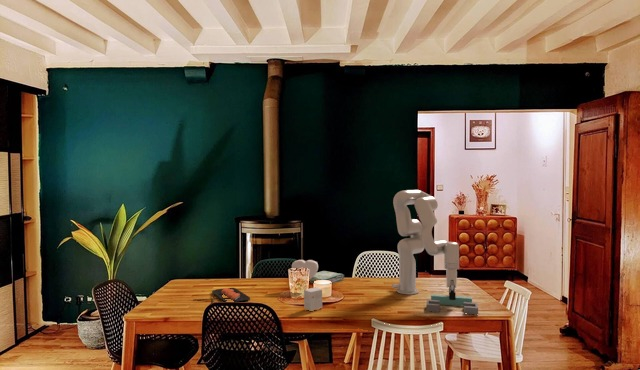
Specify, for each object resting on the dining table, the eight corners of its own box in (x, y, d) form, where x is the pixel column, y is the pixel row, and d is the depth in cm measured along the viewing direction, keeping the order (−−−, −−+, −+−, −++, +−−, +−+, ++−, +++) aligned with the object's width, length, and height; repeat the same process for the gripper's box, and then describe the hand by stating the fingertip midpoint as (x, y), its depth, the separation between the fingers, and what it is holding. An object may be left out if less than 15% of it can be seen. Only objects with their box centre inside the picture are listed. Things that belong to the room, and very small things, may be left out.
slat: (431, 304, 246) (431, 295, 246) (431, 302, 249) (431, 294, 249) (472, 307, 240) (472, 298, 240) (471, 305, 243) (471, 297, 243)
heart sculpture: (291, 290, 274) (291, 261, 273) (293, 288, 279) (293, 259, 278) (317, 291, 272) (316, 261, 271) (318, 289, 276) (318, 259, 276)
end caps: (426, 311, 233) (426, 304, 233) (426, 306, 242) (426, 299, 242) (478, 315, 226) (478, 308, 226) (476, 309, 235) (476, 302, 235)
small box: (316, 306, 242) (315, 287, 242) (322, 309, 238) (322, 289, 237) (303, 309, 237) (303, 289, 237) (310, 312, 233) (310, 292, 232)
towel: (302, 281, 298) (302, 273, 298) (326, 276, 312) (326, 268, 312) (319, 286, 284) (319, 278, 284) (344, 281, 298) (344, 273, 298)
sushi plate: (252, 302, 254) (252, 295, 253) (198, 311, 238) (198, 303, 238) (233, 290, 278) (233, 283, 278) (184, 297, 263) (183, 291, 263)
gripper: (444, 262, 253) (444, 292, 253) (444, 268, 236) (445, 301, 237) (458, 262, 251) (459, 293, 251) (459, 269, 234) (460, 302, 235)
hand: (452, 297), depth 244 cm, fingers open, 9 cm apart
